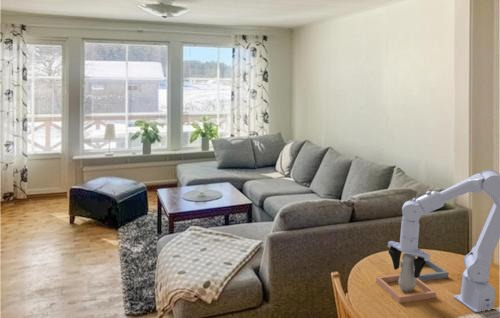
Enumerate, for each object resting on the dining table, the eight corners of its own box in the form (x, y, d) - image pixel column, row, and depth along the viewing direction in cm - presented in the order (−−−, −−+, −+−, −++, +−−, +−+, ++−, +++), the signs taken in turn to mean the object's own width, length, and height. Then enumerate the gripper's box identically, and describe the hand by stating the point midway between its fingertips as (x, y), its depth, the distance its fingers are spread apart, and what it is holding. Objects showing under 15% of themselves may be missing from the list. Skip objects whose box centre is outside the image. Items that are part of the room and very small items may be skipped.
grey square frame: (448, 277, 142) (448, 272, 141) (419, 281, 139) (420, 276, 139) (426, 263, 153) (427, 258, 153) (400, 266, 150) (400, 261, 150)
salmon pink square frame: (435, 297, 128) (436, 292, 128) (398, 302, 125) (399, 297, 125) (409, 277, 141) (410, 272, 141) (376, 281, 138) (376, 276, 138)
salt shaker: (409, 284, 137) (412, 250, 134) (419, 292, 131) (422, 257, 129) (394, 285, 136) (397, 251, 133) (403, 294, 130) (406, 258, 128)
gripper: (436, 239, 126) (432, 277, 129) (396, 227, 137) (394, 262, 140) (425, 245, 122) (421, 283, 124) (385, 231, 133) (383, 267, 136)
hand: (406, 272), depth 132 cm, fingers open, 7 cm apart
